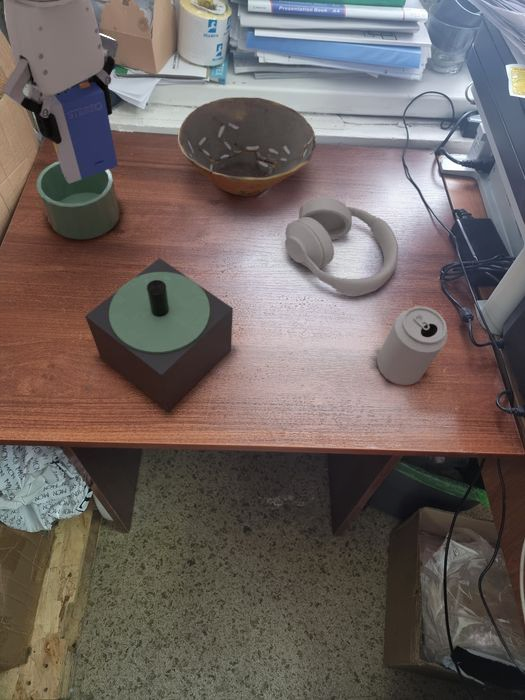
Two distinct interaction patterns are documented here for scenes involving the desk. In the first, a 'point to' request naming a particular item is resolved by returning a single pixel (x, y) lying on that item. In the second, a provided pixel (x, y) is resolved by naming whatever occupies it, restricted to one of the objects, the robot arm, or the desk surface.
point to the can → (412, 345)
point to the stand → (167, 368)
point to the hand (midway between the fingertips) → (78, 124)
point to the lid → (159, 312)
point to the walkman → (83, 132)
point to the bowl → (246, 143)
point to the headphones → (332, 223)
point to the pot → (78, 203)
